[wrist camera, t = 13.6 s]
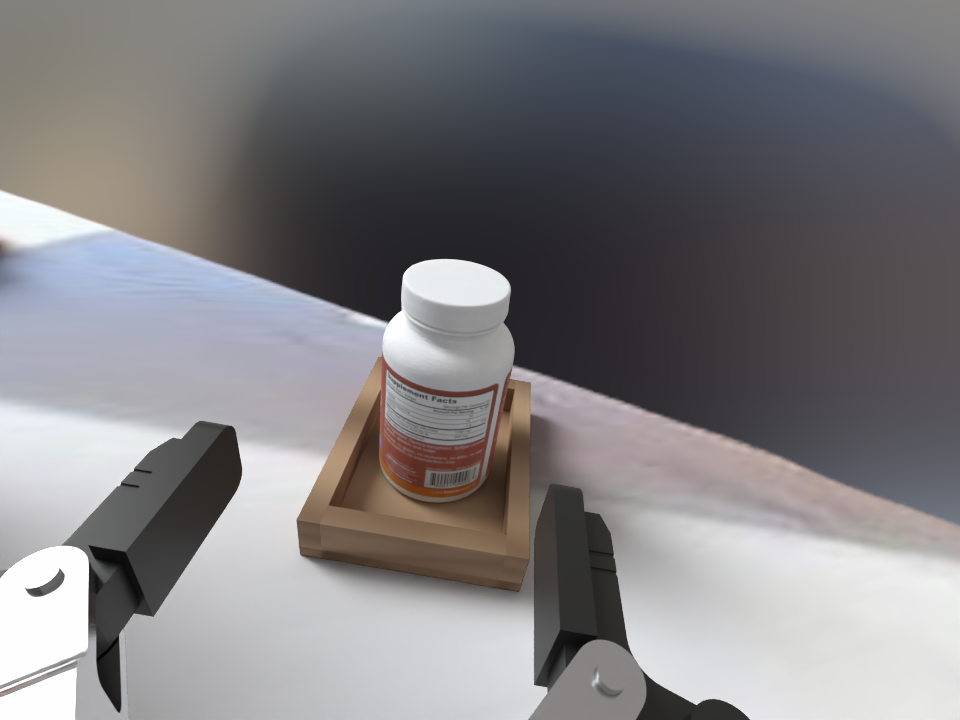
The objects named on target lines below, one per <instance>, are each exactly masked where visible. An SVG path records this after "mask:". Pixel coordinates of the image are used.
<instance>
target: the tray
mask: <svg viewBox="0 0 960 720" xmlns="http://www.w3.org/2000/svg"><path fill="white" fill-rule="evenodd" d="M381 373H382V357H378V359H377V361H376V363H375V365H374V367H373V369H372V371H371V373H370V375H369V377H368V379H367V381H366V383H365V385H364V387H363V389H362V391H361V393H360V395H359V397H358V399H357V401H356V403H355V405H354V407H353V409H352V411H351V413H350V415H349V417H348V419H347V421H346V423H345V425H344V427H343V429H342V431H341V433H340V435H339V437H338V439H337V441H336V443H335V445H334V447H333V449H332V451H331V453H330V455H329V457H328V459H327V461H326V463H325V465H324V467H323V469H322V470H321V472H320V474H319V476H318V478H317V480H316V482H315V484H314V486H313V488H312V490H311V492H310V494H309V496H308V498H307V500H306V502H305V504H304V506H303V508H302V510H301V512H300V514H299V516H298V518H297V528H298V538H299V548H300V555H306V556H312V557H318V558H324V559H330V560H336V561H342V562H348V563H354V564H359V565H365V566H371V567H377V568H383V569H389V570H395V571H401V572H407V573H413V574H418V575H424V576H430V577H436V578H442V579H448V580H454V581H460V582H466V583H472V584H478V585H483V586H489V587H495V588H501V589H507V590H513V591H519V590H520V587H521V584H522V580H523V577H524V574H525V571H526V568H527V565H528V562H529V529H530V395H531V383H530V382H524V381H518V380H512V379H510V380H509V385H508V389H507V394H506V398H505V403H504V408H503V413H502V417H501V422H500V427H499V431H498V436H497V441H496V446H495V451H494V456H493V461H492V465H491V468H490V472H489V474H488V476H487V478H486V480H485V481H484V483H483V484H482V485H481V486H480V487H479V488H478V489H477V490H476V491H475V492H473V493H472V494H470V495H469V496H467V497H465V498H462V499H459V500H455V501H451V502H441V503H435V502H426V501H421V500H417V499H414V498H412V497H409V496H407V495H405V494H403V493H401V492H400V491H398V490H397V489H396V488H394V487H393V486H392V485H391V484H390V483H389V482H388V480H387V479H386V477H385V476H384V474H383V472H382V469H381V465H380V459H379V441H380V411H381Z"/></svg>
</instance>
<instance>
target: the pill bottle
mask: <svg viewBox="0 0 960 720" xmlns="http://www.w3.org/2000/svg"><path fill="white" fill-rule="evenodd" d="M510 293H511V289H510V284H509V283H508V281H507V280H506V278H504V277H503V276H502V275H501V274H500V273H498V272H496V271H494V270H492V269H491V268H488V267H486V266H483V265H480V264H476V263H473V262H468V261H462V260H451V259H440V260H439V259H438V260H429V261H423V262H420V263H417V264H415V265H413V266H411V267H410V268H408V269H407V270H406V272H405V273H404V276H403V284H402V296H401V301H402V311H401V312H399V313H398V314H397V315H396V316H395V317H394V318H393V319H392V320H391V321H390V323H389V324H388V326H387V328H386V330H385V333H384V337H383V347H382V373H381V411H380V441H379V459H380V465H381V469H382V472H383V474H384V476H385V477H386V479H387V480H388V482H389V483H390V484H391V485H392V486H393V487H394V488H396V489H397V490H398V491H400V492H401V493H403V494H405V495H407V496H409V497H412V498H414V499H417V500H421V501H426V502H435V503H441V502H451V501H455V500H459V499H462V498H465V497H467V496H469V495H470V494H472V493H473V492H475V491H476V490H477V489H478V488H479V487H480V486H481V485H482V484H483V483H484V481H485V480H486V478H487V476H488V474H489V472H490V468H491V465H492V461H493V456H494V451H495V446H496V441H497V436H498V431H499V427H500V422H501V417H502V413H503V408H504V403H505V398H506V394H507V389H508V385H509V380H510V376H511V371H512V365H513V359H514V343H513V339H512V336H511V334H510V332H509V330H508V329H507V327H506V326H505V325H504V323H503V322H504V319H505V317H506V316H507V314H508V306H509V299H510Z"/></svg>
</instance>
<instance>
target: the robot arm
mask: <svg viewBox="0 0 960 720" xmlns="http://www.w3.org/2000/svg"><path fill="white" fill-rule="evenodd" d="M241 476H242V465H241V459H240V454H239V448H238V442H237V437H236V432H235V429H234V427H232V426H228V425H223V424H217V423H211V422H206V421H199V422H197V423H196V424H195V425H194V426H193V427H192V428H191V429H190V430H189V431H188V432H187V434H186V435H185V436H184V437H183V438H182V439H176V438H172V439H170V440H168V441H167V442H165V443H163V444H162V445H160V446H158V447H157V448H155V449H153V450H152V451H150V452H149V453H148V454H147V455H146V456H145V458H144V459H143V460H142V461H141V462H140V463H139V464H138V465H137V466H136V467H135V468H134V471H133V472H130V474H129V475H128V476H127V477H126V478H125V479H124V480H123V481H122V482H121V485H120V486H117V487H116V489H115V490H114V491H113V492H112V493H111V494H110V495H109V496H108V497H107V498H106V499H105V500H104V501H103V502H102V503H101V505H100V506H99V507H98V508H97V509H96V510H95V511H94V512H93V513H92V514H91V515H90V516H89V517H88V518H87V520H86V521H85V522H84V523H83V524H82V525H81V526H80V527H79V528H78V529H77V530H76V531H75V532H74V533H73V534H72V536H71V537H70V538H69V539H68V540H67V541H66V542H65V543H64V544H62V545H61V546H59V547H53V548H49V549H45V550H42V551H39V552H36V553H34V554H32V555H30V556H28V557H26V558H25V559H23V560H21V561H20V562H18V563H17V564H15V565H14V566H13V567H12V568H11V569H8V570H2V571H0V720H129V717H128V698H127V675H126V652H125V633H124V629H123V628H124V627H125V625H126V624H127V622H128V621H129V619H130V618H131V617H132V615H133V614H134V613H135V614H141V615H147V616H152V617H154V615H155V614H156V612H157V611H158V609H159V608H160V606H161V605H162V603H163V601H164V600H165V598H166V597H167V595H168V594H169V592H170V591H171V589H172V588H173V586H174V585H175V583H176V582H177V580H178V579H179V577H180V576H181V574H182V573H183V571H184V570H185V568H186V567H187V565H188V564H189V562H190V561H191V559H192V558H193V556H194V555H195V553H196V552H197V550H198V549H199V547H200V546H201V544H202V542H203V541H204V539H205V538H206V536H207V535H208V533H209V532H210V530H211V529H212V527H213V526H214V524H215V523H216V521H217V520H218V518H219V517H220V515H221V514H222V512H223V511H224V509H225V508H226V506H227V505H228V503H229V502H230V500H231V499H232V497H233V496H234V494H235V492H236V491H237V489H238V486H239V484H240V480H241ZM613 555H614V553H613V546H612V540H611V534H610V532H609V530H608V528H607V527H606V525H605V523H604V521H603V520H602V518H601V516H600V514H595V513H589V512H584V503H583V494H582V491H581V489H579V488H573V487H568V486H562V485H556V484H551V485H550V487H549V489H548V492H547V495H546V498H545V501H544V504H543V507H542V510H541V513H540V516H539V519H538V522H537V526H536V532H535V540H534V685H537V686H543V687H548V694H547V695H546V696H545V698H544V699H543V700H542V702H541V703H540V705H539V706H538V707H537V709H536V710H535V711H534V713H533V714H532V715H531V717H530V718H529V720H750V719H749V718H748V717H747V716H746V715H745V714H744V713H742V712H741V711H740V710H739V709H737V708H736V707H734V706H733V705H731V704H729V703H727V702H724V701H721V700H716V699H708V700H705V701H702V702H701V703H699V704H698V705H695V704H693V703H691V702H689V701H688V700H686V699H684V698H682V697H680V696H678V695H677V694H675V693H673V692H671V691H669V690H667V689H665V688H664V687H662V686H660V685H659V684H657V683H656V682H654V681H653V680H652V679H651V678H649V677H648V676H647V675H646V674H645V673H644V671H643V670H642V669H641V668H640V667H639V665H638V663H637V662H636V660H635V659H634V657H633V655H632V653H631V651H630V648H629V645H628V641H627V636H626V630H625V623H624V617H623V611H622V604H621V598H620V591H619V585H618V578H617V575H616V565H615V559H614V558H613Z"/></svg>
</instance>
